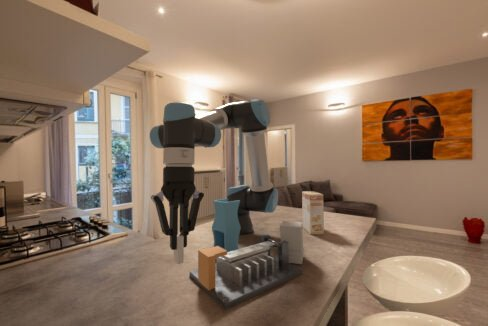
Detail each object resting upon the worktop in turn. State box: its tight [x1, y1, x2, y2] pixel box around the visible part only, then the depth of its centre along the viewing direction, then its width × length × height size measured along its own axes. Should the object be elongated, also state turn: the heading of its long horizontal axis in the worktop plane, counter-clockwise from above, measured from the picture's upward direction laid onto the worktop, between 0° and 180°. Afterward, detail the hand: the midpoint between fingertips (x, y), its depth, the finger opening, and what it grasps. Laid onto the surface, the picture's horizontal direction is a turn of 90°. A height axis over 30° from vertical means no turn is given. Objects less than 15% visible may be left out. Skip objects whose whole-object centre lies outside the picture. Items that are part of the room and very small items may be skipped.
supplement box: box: [279, 220, 304, 265], centre depth 78 cm, size 7×7×13 cm
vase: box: [211, 198, 241, 252], centre depth 85 cm, size 8×8×20 cm
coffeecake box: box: [301, 190, 325, 236], centre depth 114 cm, size 15×7×20 cm, turn 179°
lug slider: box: [197, 246, 227, 290], centre depth 60 cm, size 6×6×8 cm
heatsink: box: [189, 234, 303, 311], centre depth 67 cm, size 20×28×8 cm
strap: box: [221, 238, 279, 262], centre depth 69 cm, size 6×20×2 cm, turn 127°
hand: (178, 261), depth 54 cm, fingers closed
